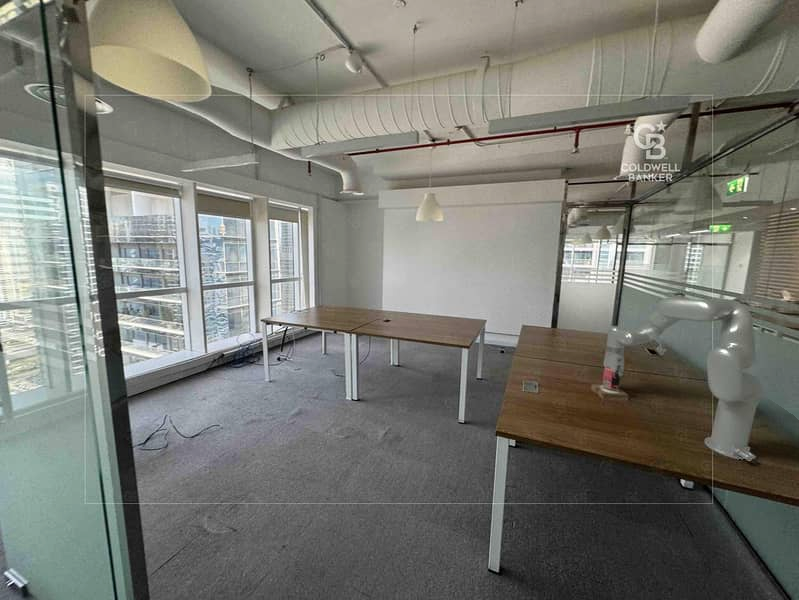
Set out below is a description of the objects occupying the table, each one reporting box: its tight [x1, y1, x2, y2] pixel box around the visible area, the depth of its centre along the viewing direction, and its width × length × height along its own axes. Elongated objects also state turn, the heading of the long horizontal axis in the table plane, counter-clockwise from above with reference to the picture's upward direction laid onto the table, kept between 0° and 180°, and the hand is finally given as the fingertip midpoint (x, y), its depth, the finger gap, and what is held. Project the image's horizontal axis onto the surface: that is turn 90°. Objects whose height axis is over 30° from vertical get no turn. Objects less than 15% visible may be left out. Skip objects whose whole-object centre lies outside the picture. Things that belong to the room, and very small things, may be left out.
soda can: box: [602, 365, 619, 390], centre depth 160 cm, size 7×7×12 cm
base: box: [590, 383, 630, 402], centre depth 162 cm, size 12×12×3 cm
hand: (610, 381), depth 161 cm, fingers closed on soda can, 7 cm apart
